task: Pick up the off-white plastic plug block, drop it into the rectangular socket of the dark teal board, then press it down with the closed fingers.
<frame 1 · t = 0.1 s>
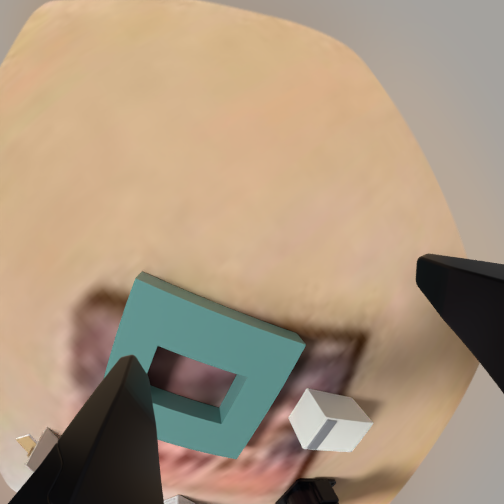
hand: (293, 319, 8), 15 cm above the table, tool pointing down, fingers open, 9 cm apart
architectural model: (60, 441, 23), on the table
plug: (321, 407, 27), on the table
socket board: (191, 374, 24), on the table
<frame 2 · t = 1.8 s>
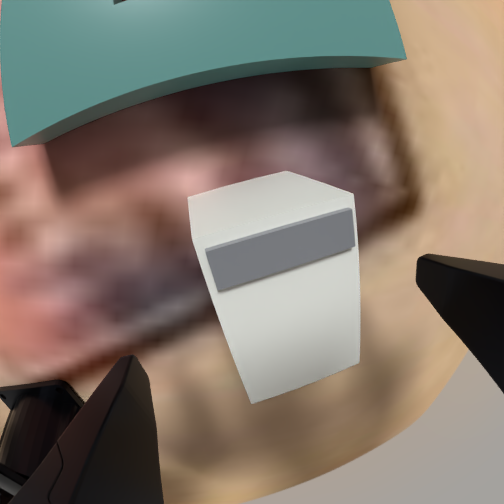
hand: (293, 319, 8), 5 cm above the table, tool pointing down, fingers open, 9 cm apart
plug: (254, 251, 12), on the table
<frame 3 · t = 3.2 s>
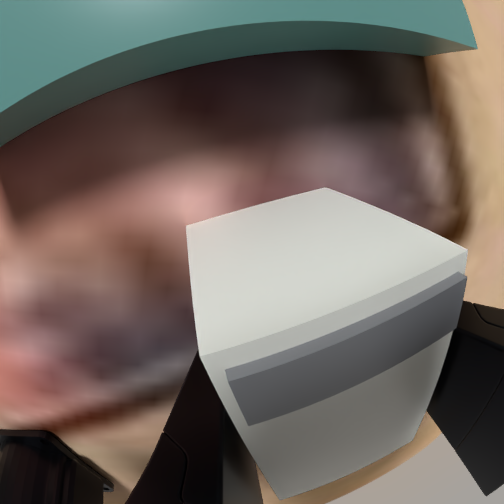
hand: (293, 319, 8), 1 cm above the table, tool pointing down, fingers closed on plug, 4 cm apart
plug: (278, 297, 9), on the table, touching gripper
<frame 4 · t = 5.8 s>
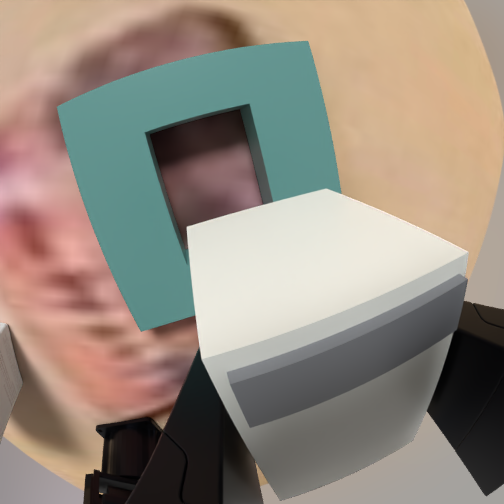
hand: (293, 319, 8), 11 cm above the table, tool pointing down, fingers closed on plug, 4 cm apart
plug: (279, 298, 9), point 10 cm above the table, touching gripper
socket board: (210, 179, 17), on the table
when the fingers open (3 cm above the table, at t = 8.6 s): plug drops 2 cm, resting in socket board.
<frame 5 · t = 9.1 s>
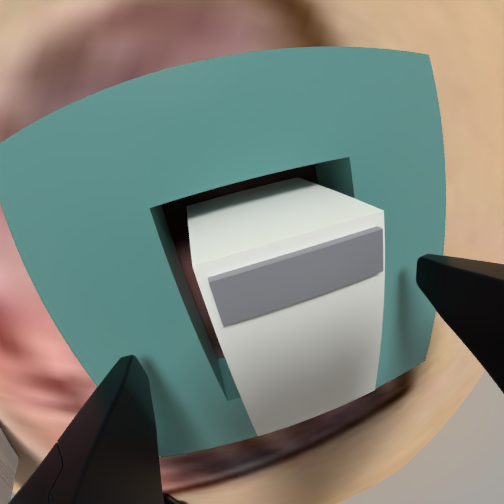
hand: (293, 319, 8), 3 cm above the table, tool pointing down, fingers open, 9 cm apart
plug: (260, 266, 11), resting in socket board
socket board: (260, 267, 11), on the table
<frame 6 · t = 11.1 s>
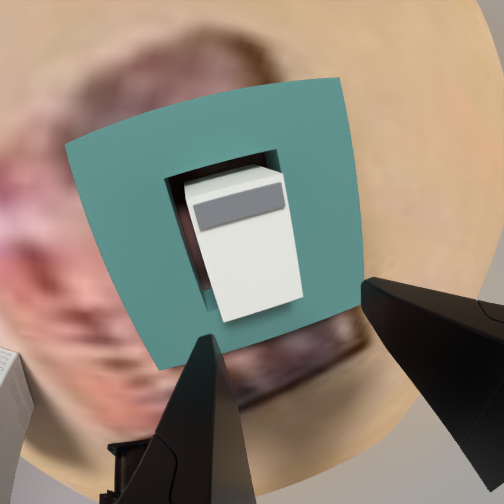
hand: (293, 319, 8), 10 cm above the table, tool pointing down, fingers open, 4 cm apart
plug: (231, 222, 17), resting in socket board
socket board: (231, 222, 17), on the table
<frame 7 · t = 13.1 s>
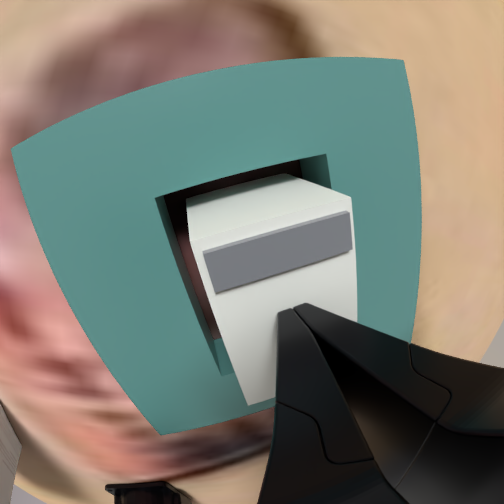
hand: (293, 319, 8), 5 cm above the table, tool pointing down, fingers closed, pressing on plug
plug: (251, 253, 12), resting in socket board, touching gripper
socket board: (251, 253, 12), on the table
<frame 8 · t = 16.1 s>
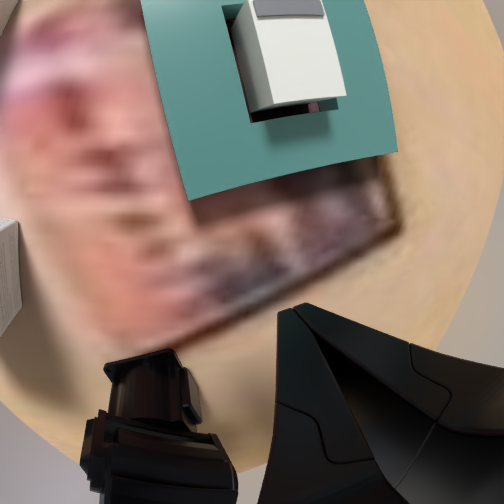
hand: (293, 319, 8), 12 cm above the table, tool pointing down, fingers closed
architectural model: (2, 25, 9), on the table
plug: (269, 65, 16), resting in socket board
socket board: (270, 64, 16), on the table
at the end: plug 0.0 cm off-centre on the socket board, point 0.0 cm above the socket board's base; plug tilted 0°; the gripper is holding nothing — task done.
